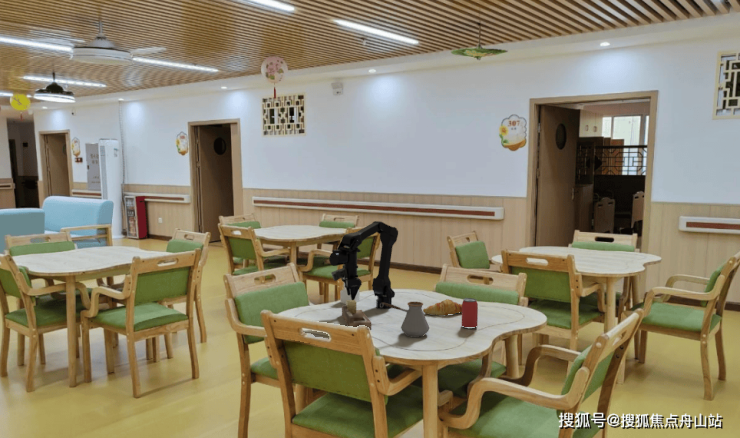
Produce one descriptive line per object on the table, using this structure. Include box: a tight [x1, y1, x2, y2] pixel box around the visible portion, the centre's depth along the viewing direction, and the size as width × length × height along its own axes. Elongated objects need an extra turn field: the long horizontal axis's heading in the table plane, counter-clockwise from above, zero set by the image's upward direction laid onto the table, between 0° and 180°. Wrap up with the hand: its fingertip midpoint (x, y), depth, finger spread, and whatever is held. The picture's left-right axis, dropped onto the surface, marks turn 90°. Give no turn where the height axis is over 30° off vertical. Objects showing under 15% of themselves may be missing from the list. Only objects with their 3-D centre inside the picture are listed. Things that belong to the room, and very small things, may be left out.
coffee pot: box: [380, 301, 430, 338], centre depth 224 cm, size 21×12×15 cm, turn 115°
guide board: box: [341, 304, 372, 330], centre depth 243 cm, size 9×20×6 cm, turn 13°
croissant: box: [422, 298, 462, 316], centre depth 258 cm, size 21×10×8 cm, turn 101°
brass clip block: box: [345, 300, 357, 313], centre depth 249 cm, size 4×4×5 cm
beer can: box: [461, 297, 479, 327], centre depth 236 cm, size 7×7×12 cm
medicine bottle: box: [339, 282, 360, 304], centre depth 275 cm, size 7×7×12 cm
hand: (350, 297), depth 249 cm, fingers open, 9 cm apart
